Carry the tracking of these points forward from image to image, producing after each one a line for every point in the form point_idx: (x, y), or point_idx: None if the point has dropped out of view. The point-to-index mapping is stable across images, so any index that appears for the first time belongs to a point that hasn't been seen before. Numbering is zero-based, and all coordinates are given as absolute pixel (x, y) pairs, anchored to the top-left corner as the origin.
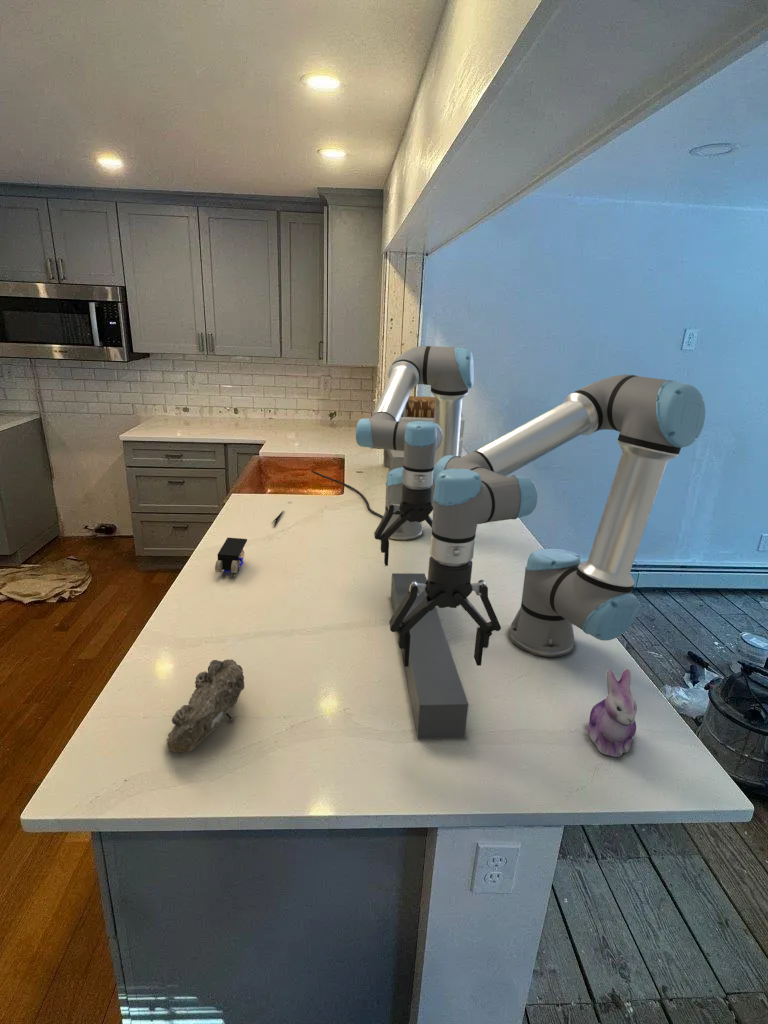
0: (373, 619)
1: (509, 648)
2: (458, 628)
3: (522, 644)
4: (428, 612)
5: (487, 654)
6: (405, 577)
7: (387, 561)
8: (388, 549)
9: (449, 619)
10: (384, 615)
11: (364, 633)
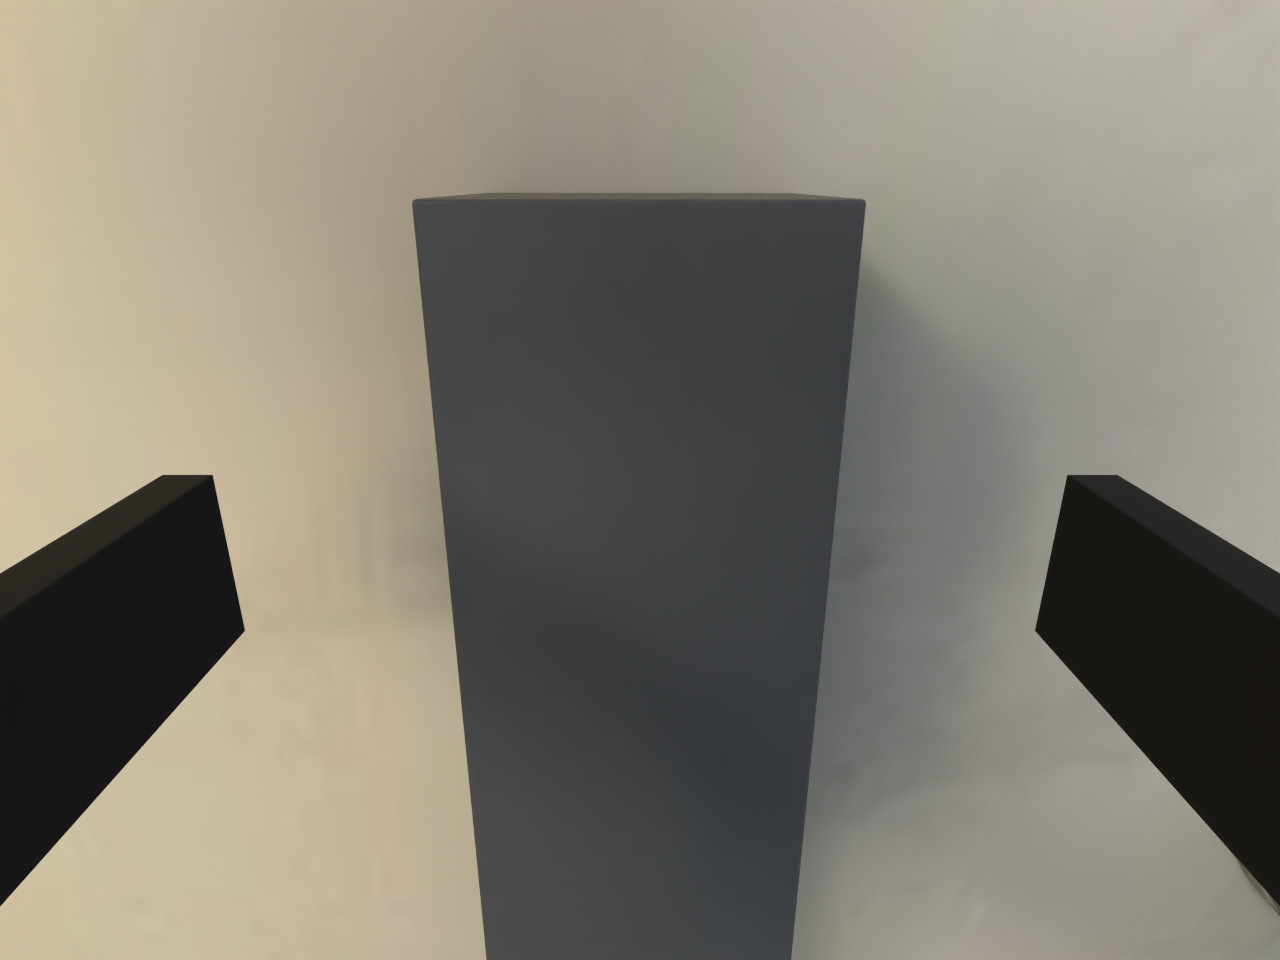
0: (346, 544)
1: (1179, 851)
2: (950, 659)
3: (1271, 898)
4: (715, 957)
5: (1020, 894)
6: (585, 325)
7: (192, 677)
8: (35, 860)
9: (926, 550)
10: (428, 491)
11: (299, 705)
